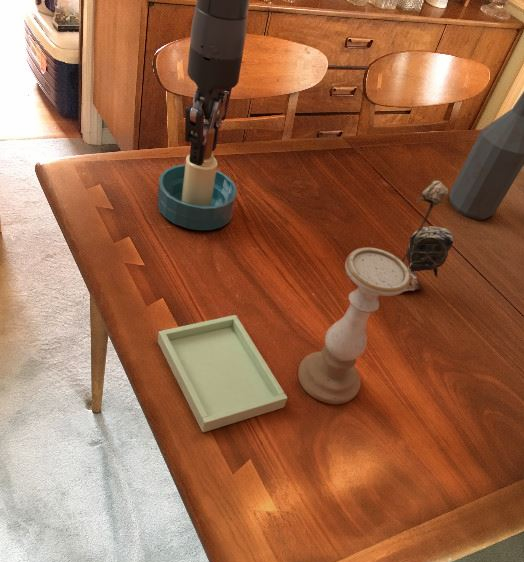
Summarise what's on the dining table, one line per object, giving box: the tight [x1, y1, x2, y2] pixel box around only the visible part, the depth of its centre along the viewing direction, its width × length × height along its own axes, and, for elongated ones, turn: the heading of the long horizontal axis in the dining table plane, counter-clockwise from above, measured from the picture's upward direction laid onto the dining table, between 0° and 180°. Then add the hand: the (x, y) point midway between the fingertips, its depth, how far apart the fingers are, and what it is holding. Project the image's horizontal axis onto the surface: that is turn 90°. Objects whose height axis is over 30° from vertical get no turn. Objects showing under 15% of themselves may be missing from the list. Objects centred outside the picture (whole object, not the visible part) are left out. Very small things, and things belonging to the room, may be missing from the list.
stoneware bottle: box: [181, 128, 219, 206], centre depth 92 cm, size 5×5×14 cm
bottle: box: [448, 91, 524, 221], centre depth 108 cm, size 10×10×30 cm
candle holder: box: [297, 246, 410, 405], centre depth 70 cm, size 9×9×20 cm
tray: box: [157, 314, 288, 433], centre depth 73 cm, size 16×12×2 cm
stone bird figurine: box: [401, 179, 457, 292], centre depth 89 cm, size 8×11×20 cm
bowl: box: [156, 163, 238, 231], centre depth 96 cm, size 13×13×5 cm
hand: (202, 155), depth 90 cm, fingers open, 5 cm apart
